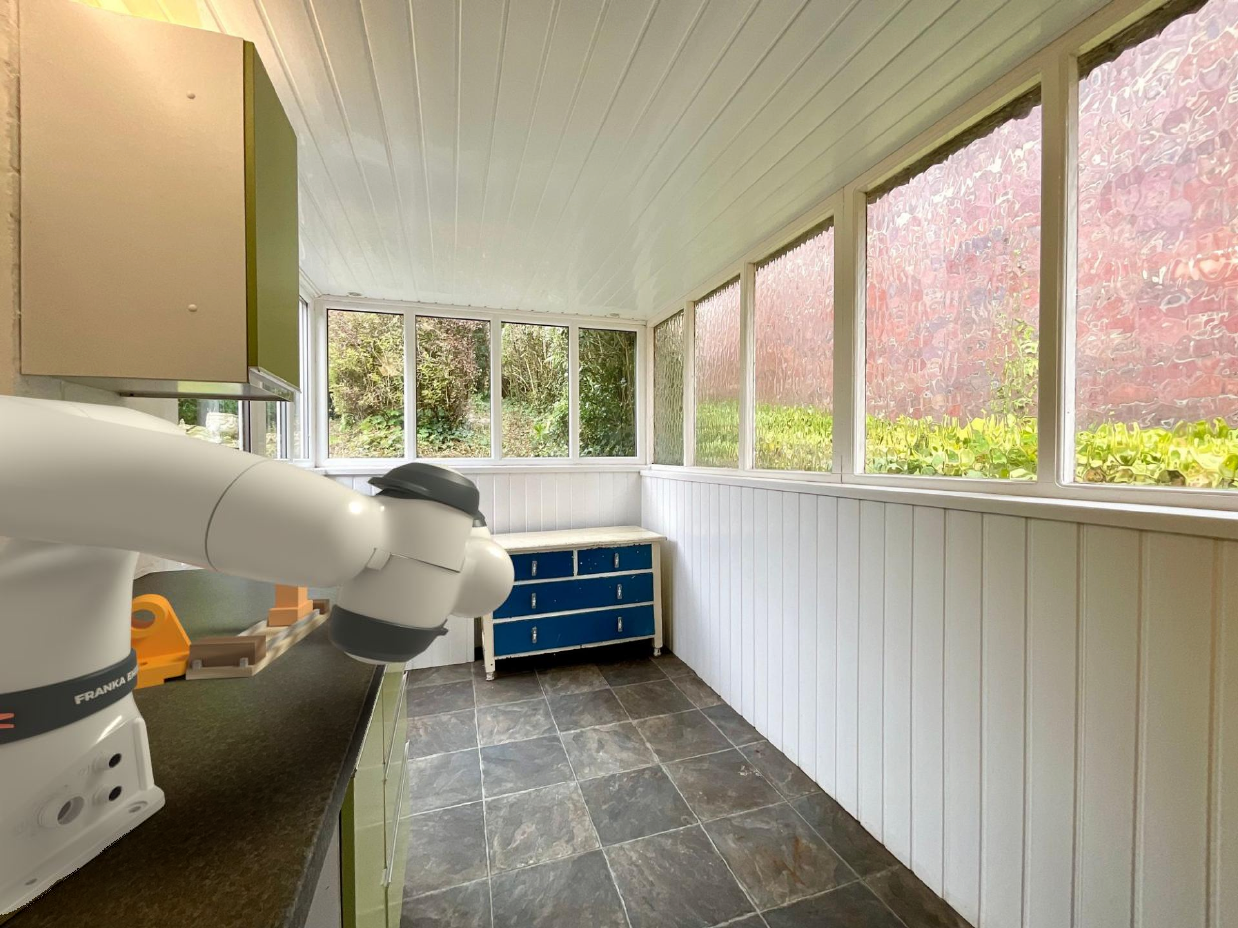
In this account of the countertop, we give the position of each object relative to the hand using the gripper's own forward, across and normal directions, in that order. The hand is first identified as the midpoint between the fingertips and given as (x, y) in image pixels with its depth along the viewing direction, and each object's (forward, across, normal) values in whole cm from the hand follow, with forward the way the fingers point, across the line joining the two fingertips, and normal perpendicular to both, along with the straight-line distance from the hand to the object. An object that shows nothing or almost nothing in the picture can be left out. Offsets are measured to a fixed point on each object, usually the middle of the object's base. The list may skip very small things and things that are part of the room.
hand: (349, 574), depth 96 cm
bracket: (+21, -21, -10) cm, 32 cm away
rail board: (+10, -8, -10) cm, 17 cm away
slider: (+10, -1, -8) cm, 13 cm away
